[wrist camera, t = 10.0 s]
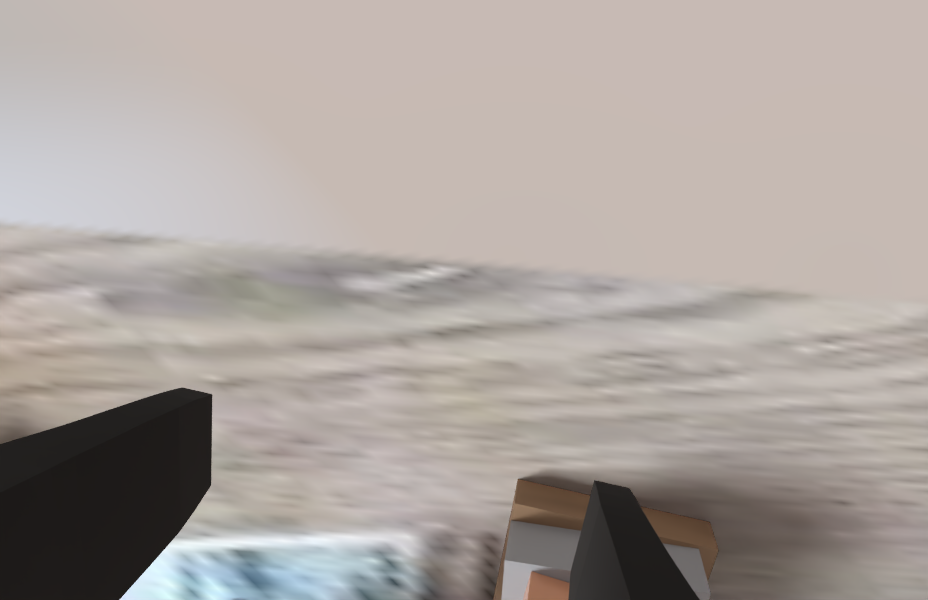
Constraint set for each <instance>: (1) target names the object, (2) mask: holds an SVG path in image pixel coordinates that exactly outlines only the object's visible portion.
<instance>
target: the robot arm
mask: <svg viewBox="0 0 928 600" xmlns="http://www.w3.org/2000/svg"><path fill="white" fill-rule="evenodd" d="M211 446H212V394H208V393H204V392H200V391H195V390H191V389H186V388H179V389H174V390H170V391H167V392H163V393H160V394H156V395H153V396H150V397H147V398H144V399H141V400H138V401H135V402H132V403H129V404H126V405H123V406H120V407H117V408H114V409H111V410H108V411H105V412H102V413H99V414H96V415H93V416H90V417H87V418H84V419H81V420H78V421H75V422H72V423H69V424H66V425H63V426H59V427H56V428H53V429H50V430H46V431H43V432H40V433H36V434H33V435H30V436H26V437H23V438H20V439H16V440H13V441H10V442H7V443H3V444H0V600H119V599H120V598H121V597H122V596H123V595H124V594H125V593H126V592H127V590H128V589H129V588H130V587H131V586H132V585H133V584H134V583H135V582H136V580H137V579H138V578H139V577H140V576H141V575H142V574H143V573H144V571H145V570H146V569H147V568H148V567H149V566H150V565H151V564H152V562H153V561H154V560H155V559H156V558H157V557H158V556H159V555H160V553H161V552H162V551H163V550H164V549H165V548H166V547H167V545H168V544H169V543H170V542H171V541H172V540H173V539H174V537H175V536H176V535H177V534H178V533H179V532H180V530H181V529H182V527H183V526H184V525H185V523H186V522H187V520H188V519H189V518H190V516H191V515H192V513H193V512H194V510H195V509H196V507H197V506H198V504H199V503H200V501H201V500H202V498H203V497H204V495H205V494H206V492H207V491H208V489H209V488H210V486H211ZM568 600H700V599H699V598H698V596H697V595H696V593H695V592H694V591H693V589H692V588H691V586H690V585H689V583H688V582H687V580H686V579H685V577H684V576H683V574H682V573H681V571H680V570H679V568H678V567H677V565H676V564H675V562H674V561H673V559H672V558H671V556H670V554H669V553H668V551H667V550H666V548H665V546H664V545H663V543H662V542H661V540H660V538H659V537H658V535H657V533H656V532H655V530H654V528H653V527H652V525H651V523H650V522H649V520H648V518H647V517H646V515H645V513H644V512H643V510H642V508H641V506H640V505H639V503H638V501H637V500H636V498H635V496H634V495H633V493H632V492H631V490H630V489H629V488H626V487H621V486H617V485H612V484H608V483H604V482H599V481H595V480H594V484H593V488H592V491H591V495H590V499H589V503H588V507H587V511H586V514H585V518H584V522H583V526H582V530H581V533H580V537H579V541H578V545H577V549H576V553H575V556H574V560H573V564H572V568H571V572H570V584H569V599H568Z"/></svg>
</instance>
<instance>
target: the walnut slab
mask: <svg viewBox="0 0 928 600" xmlns="http://www.w3.org/2000/svg"><path fill="white" fill-rule="evenodd" d="M589 499H590V495H587V494H582V493H578V492H573V491H569V490H564V489H560V488H556V487H551V486H547V485H542V484H538V483H533V482H529V481H524V480H520V479H518V481H517V486H516V491H515V496H514V501H513V506H512V511H511V515H510V520H509V525H508V530H507V535H506V540H505V545H504V549H503V554H502V559H501V564H500V569H499V574H498V579H497V583H496V588H495V593H494V598H493V600H501V598H502V586H503V574H504V562H505V555H506V548H507V542H508V535H509V529H510V523H511V520H513V521H519V522H526V523H532V524H539V525H546V526H552V527H559V528H566V529H572V530H579V531H581V530H582V526H583V522H584V518H585V514H586V511H587V507H588V503H589ZM641 508H642V510H643V512H644V513H645V515H646V517H647V518H648V520H649V522H650V523H651V525H652V527H653V528H654V530H655V532H656V533H657V535H658V537H659V538H660V540H661V542H662V543H664V544H671V545H677V546H684V547H691V548H697V549H699V551H700V555H701V559H702V563H703V566H704V570H705V574H706V577H707V581H708V579H709V576H710V573H711V571H712V568H713V565H714V562H715V559H716V556H717V554H718V551H719V550H718V546H717V543H716V540H715V537H714V534H713V531H712V527H711V524H710V522H707V521H703V520H698V519H694V518H689V517H685V516H681V515H676V514H672V513H667V512H663V511H658V510H654V509H649V508H645V507H641Z"/></svg>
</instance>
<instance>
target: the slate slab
mask: <svg viewBox="0 0 928 600" xmlns="http://www.w3.org/2000/svg"><path fill="white" fill-rule="evenodd" d="M580 533H581V531H579V530H572V529H566V528H559V527H552V526H546V525H539V524H532V523H526V522H519V521H513V520H511V523H510V529H509V535H508V542H507V548H506V555H505V562H504V574H503V586H502V598H501V600H523V597H524V593H525V590H526V587H527V583H528V580H529V577H530V573H531V571H532V572H536V573H539V574H542V575H545V576H549V577H552V578H555V579H558V580H562V581H565V582H568V583H570V572H571V568H572V564H573V560H574V556H575V553H576V549H577V545H578V541H579V537H580ZM663 545H664V546H665V548H666V550H667V551H668V553H669V554H670V556H671V558H672V559H673V561H674V562H675V564H676V565H677V567H678V568H679V570H680V571H681V573H682V574H683V576H684V577H685V579H686V580H687V582H688V583H689V585H690V586H691V588H692V589H693V591H694V592H695V593H696V595H697V596H698V598H699V599H700V600H709V599H710V595H711V592H710V589H709V585H708V581H707V577H706V574H705V570H704V566H703V563H702V559H701V555H700V551H699V549H697V548H691V547H684V546H677V545H671V544H664V543H663Z"/></svg>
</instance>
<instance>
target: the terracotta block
mask: <svg viewBox="0 0 928 600" xmlns="http://www.w3.org/2000/svg"><path fill="white" fill-rule="evenodd" d="M569 584H570V583H568V582H565V581H562V580H558V579H555V578H552V577H549V576H545V575H542V574H539V573H536V572H532V571H531V573H530V577H529V580H528V583H527V587H526V590H525V593H524V597H523V600H568V599H569Z"/></svg>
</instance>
